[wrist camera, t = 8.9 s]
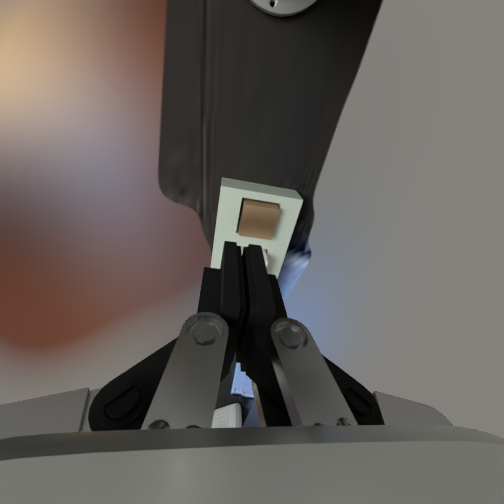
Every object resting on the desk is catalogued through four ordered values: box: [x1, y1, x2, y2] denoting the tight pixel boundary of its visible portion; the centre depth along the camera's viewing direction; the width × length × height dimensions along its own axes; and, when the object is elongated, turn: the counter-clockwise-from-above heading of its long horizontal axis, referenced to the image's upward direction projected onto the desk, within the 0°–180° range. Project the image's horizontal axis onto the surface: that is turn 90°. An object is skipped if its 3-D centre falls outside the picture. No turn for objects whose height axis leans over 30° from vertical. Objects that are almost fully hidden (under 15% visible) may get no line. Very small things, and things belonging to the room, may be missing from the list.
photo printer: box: [211, 403, 242, 428], centre depth 70 cm, size 10×4×12 cm, turn 119°
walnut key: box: [238, 198, 280, 240], centre depth 34 cm, size 5×5×4 cm
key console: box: [211, 177, 303, 278], centre depth 40 cm, size 24×12×4 cm, turn 169°
